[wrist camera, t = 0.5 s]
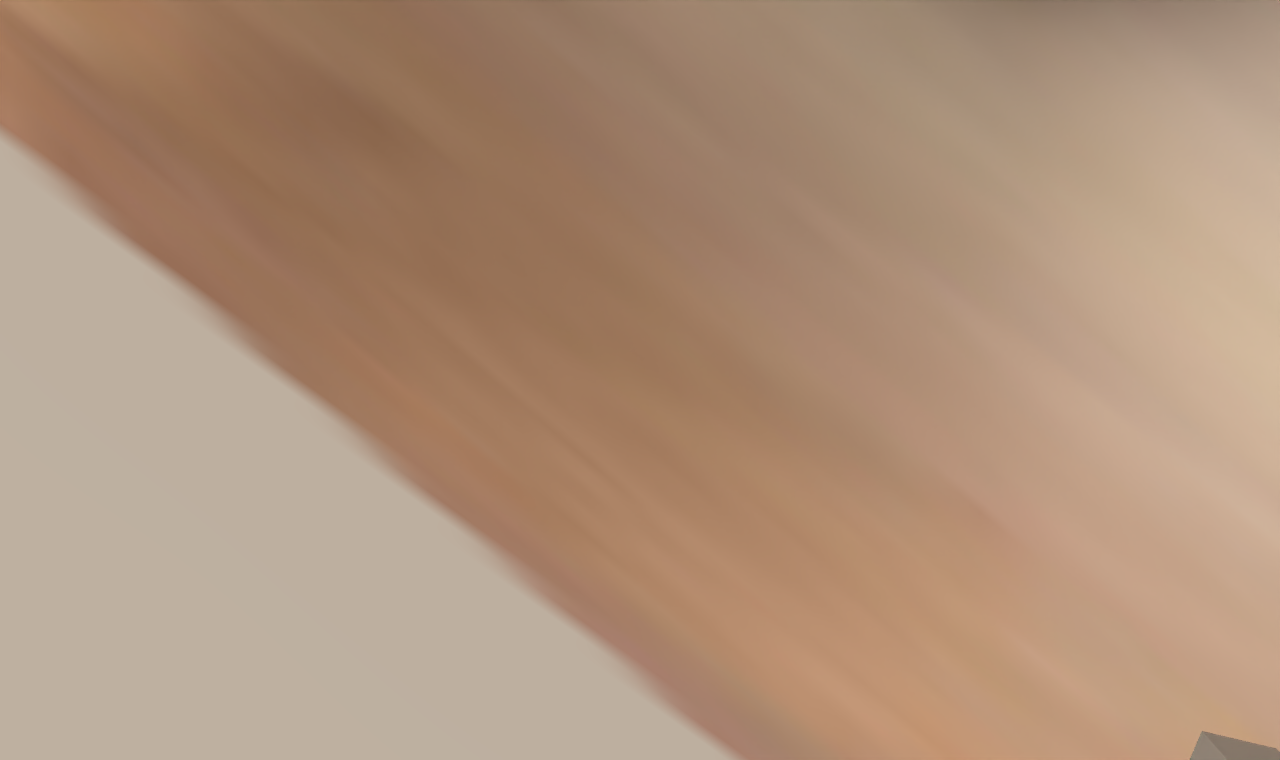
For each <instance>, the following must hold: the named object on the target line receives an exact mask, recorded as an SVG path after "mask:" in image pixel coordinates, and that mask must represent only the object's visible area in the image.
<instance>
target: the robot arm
mask: <svg viewBox="0 0 1280 760" xmlns="http://www.w3.org/2000/svg"><path fill="white" fill-rule="evenodd" d="M1190 760H1280V752H1279V751H1278V750H1277V749H1276V748H1272V747H1268V746H1263V745H1259V744H1255V743H1251V742H1246V741H1242V740H1238V739H1233V738H1229V737H1225V736H1221V735H1216V734H1212V733H1208V732H1203V731H1202V732H1201V734H1200V737H1199V739H1198V741H1197V744H1196V746H1195V749H1194V751H1193V753H1192V756H1191V758H1190Z"/></svg>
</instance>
